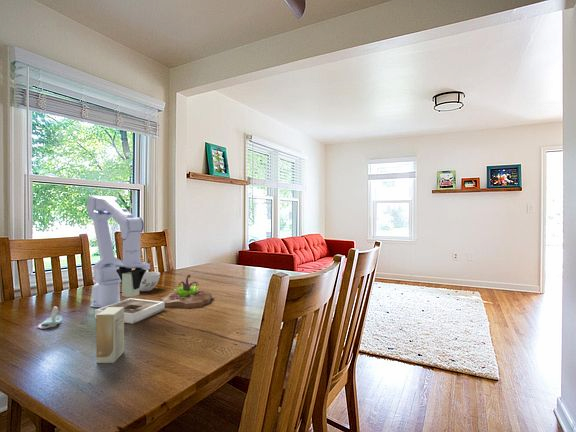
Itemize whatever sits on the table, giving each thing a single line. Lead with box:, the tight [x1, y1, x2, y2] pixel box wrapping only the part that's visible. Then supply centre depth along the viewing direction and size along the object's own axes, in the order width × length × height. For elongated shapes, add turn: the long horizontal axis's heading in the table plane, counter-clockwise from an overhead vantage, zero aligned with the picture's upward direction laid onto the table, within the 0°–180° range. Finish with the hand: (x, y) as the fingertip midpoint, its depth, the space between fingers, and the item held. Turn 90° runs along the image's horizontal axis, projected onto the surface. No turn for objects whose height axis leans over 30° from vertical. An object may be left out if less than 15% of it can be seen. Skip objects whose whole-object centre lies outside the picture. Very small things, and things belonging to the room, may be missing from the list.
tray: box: [94, 297, 165, 324], centre depth 116 cm, size 16×16×3 cm
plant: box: [159, 274, 213, 309], centre depth 134 cm, size 20×20×11 cm
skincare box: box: [95, 307, 125, 364], centre depth 81 cm, size 6×4×12 cm
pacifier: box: [37, 305, 63, 330], centre depth 103 cm, size 7×6×6 cm
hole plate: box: [113, 301, 156, 313], centre depth 116 cm, size 14×14×2 cm
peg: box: [121, 272, 140, 298], centre depth 116 cm, size 4×4×8 cm
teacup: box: [139, 271, 161, 292], centre depth 153 cm, size 15×12×8 cm
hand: (131, 288), depth 116 cm, fingers closed on peg, 4 cm apart
